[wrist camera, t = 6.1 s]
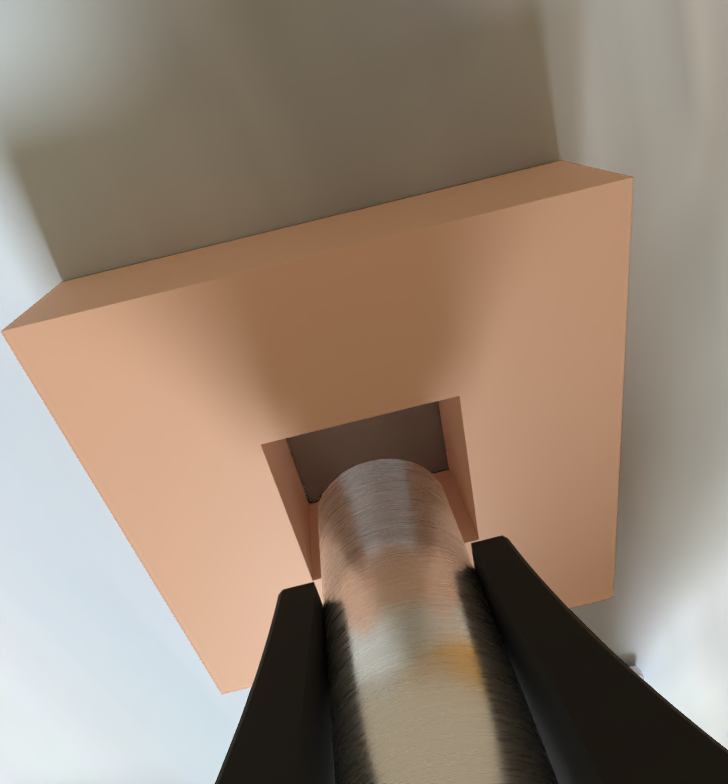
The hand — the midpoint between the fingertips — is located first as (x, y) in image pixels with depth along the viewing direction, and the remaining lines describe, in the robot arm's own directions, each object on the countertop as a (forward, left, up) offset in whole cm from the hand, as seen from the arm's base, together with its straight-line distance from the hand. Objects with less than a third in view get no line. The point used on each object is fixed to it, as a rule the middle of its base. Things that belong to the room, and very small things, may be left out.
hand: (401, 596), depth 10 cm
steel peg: (0, 0, -2) cm, 2 cm away
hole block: (0, 0, -6) cm, 6 cm away
